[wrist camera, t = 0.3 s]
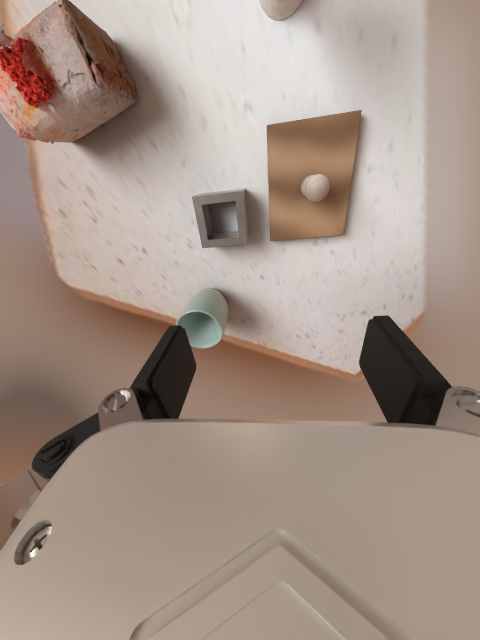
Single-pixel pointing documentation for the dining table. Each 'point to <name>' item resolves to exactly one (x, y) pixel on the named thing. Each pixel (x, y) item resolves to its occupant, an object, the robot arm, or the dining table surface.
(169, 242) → the dining table surface
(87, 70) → the food item
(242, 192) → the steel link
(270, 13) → the chalice
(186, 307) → the cup
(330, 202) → the brown flat pegged piece
